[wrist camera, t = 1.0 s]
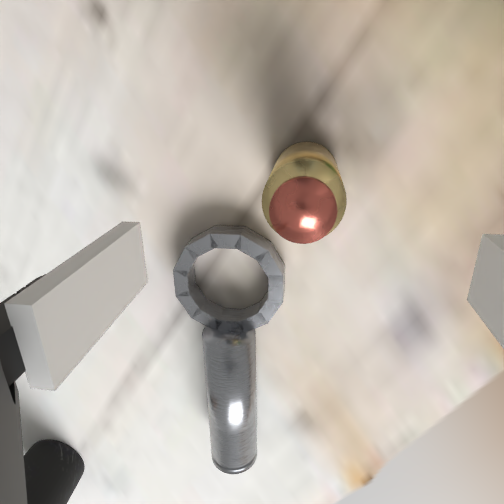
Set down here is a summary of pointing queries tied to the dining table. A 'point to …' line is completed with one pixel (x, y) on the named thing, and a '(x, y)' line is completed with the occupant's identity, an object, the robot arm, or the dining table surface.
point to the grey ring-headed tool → (230, 342)
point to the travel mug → (51, 472)
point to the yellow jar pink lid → (304, 194)
